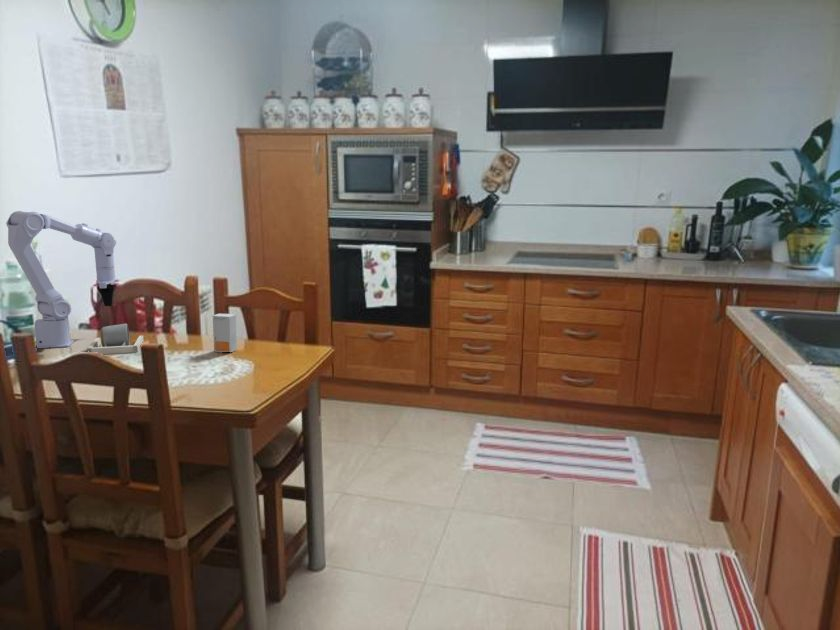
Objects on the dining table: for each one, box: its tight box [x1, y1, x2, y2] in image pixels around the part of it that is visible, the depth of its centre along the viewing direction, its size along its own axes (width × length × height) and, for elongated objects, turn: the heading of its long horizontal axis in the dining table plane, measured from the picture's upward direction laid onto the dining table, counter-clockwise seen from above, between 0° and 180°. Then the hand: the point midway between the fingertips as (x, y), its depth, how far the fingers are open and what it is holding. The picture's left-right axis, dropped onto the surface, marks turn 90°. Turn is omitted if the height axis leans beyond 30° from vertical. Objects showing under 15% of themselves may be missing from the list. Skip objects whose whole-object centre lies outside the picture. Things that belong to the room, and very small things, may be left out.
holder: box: [86, 335, 145, 355], centre depth 205 cm, size 14×15×2 cm
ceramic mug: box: [99, 323, 131, 347], centre depth 203 cm, size 11×8×8 cm
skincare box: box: [212, 312, 238, 353], centre depth 201 cm, size 6×4×12 cm
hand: (108, 305), depth 221 cm, fingers closed
